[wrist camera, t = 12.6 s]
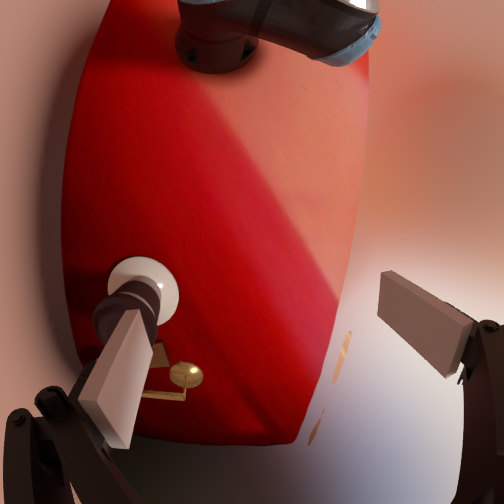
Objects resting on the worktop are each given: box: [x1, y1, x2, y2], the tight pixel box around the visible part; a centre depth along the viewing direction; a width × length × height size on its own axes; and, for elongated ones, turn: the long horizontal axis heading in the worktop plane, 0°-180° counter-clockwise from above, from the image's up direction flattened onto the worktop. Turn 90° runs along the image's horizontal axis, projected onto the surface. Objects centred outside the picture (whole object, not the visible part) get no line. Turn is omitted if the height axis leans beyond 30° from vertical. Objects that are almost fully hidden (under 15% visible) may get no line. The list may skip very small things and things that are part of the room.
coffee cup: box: [93, 276, 162, 348], centre depth 39 cm, size 10×10×15 cm
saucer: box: [108, 256, 179, 326], centre depth 47 cm, size 14×14×1 cm
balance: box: [95, 340, 203, 401], centre depth 44 cm, size 6×24×15 cm, turn 97°
